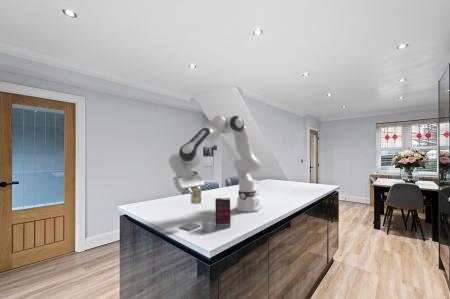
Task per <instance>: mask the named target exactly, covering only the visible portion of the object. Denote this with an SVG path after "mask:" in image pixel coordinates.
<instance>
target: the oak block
mask: <svg viewBox="0 0 450 299" xmlns="http://www.w3.org/2000/svg"><path fill="white" fill-rule="evenodd" d="M191 190H192V191H193V192H194V193H195V195H194V196H191V195H190V203H191V204H194V205H199V204H201V203H202V188H200V189H197V188H195V189H191Z"/></svg>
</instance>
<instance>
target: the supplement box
mask: <svg viewBox="0 0 450 299" xmlns="http://www.w3.org/2000/svg"><path fill="white" fill-rule="evenodd" d="M214 204H215V205H214V206H215V229H216V228H217V229H218V228H231V199H230V197H220V198H219V197H216V198H215V202H214Z"/></svg>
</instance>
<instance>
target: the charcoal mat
mask: <svg viewBox="0 0 450 299" xmlns="http://www.w3.org/2000/svg"><path fill="white" fill-rule="evenodd" d="M200 227H202V224H201V225H200V224H197V223H194V222H189V223H185V224H183V225H180V226H179V229H181V230H184V231H187V232H191V231H193V230H195V229H197V228H200Z"/></svg>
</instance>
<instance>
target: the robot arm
mask: <svg viewBox="0 0 450 299" xmlns="http://www.w3.org/2000/svg"><path fill="white" fill-rule="evenodd" d="M222 133H223V134H231V133H232V134H233V137H234V144H235V149H236V152H237V154H238V155H239V156H240V157H239V158H236V159H235V160H234V162H233V167H234V169H235V171H236V173H237V177H238V191H237V192H238V193H237V194H238V197H237V198H236V200H237V201H236V205H235V209H236V210H237V211H239V212H243V213H251V212H252V213H253V212H259V211H260V210H261V209H262V208H263V205H262V204H260V199H259V198H258V197H257V196H256V194H257V190H255V189H254V188H255V183H254V182H255V181H254V179H253V177H252V175H251V174H252V173H257V172H259V171H260V169H261V162H260V160H259V159H258V158H256V155H255V154H254V152H253V149H252V144H251V141H250V136H249V131H248V129H247V127H246V126H245V122H244V119H243V118H242V117H241V116H240V115H233V116H229V117H226V118H225V117H224V116H222V115H215V116H214V117H213V118H211V120H210V121H209V122H208V123H207V124H206V125H205V126H204V127H202V128H201V129H200V130H199V131H197V133H196V134H195V135H194V136H193V137H192V138H191V139H190V140H189V141H188V142H185V144H183V145H182V146H181V147H180V148H179V151H178V153H173V154H172V155H171V156H170V157H169V159H168V163H169V166H170V168H171V169H172V172H174V174H175V176H174V177H173V178H172V179H173V182H174V186H175V188H176V190H177V191H178V192H180V193H181V192H187V193H188V194H190V197H191V196H194V195H195V193H194V192H193V191H192V190H191V189H195V188H197V189H202V188H203V187H204V186H205V184H206V183H205V182H204V180H203V178H202V177H201V176H200V175H199V172H198V171H196V170H192V169H194V168H196V167H197V166H198V165H199V164H200V157H199V155H198V148H199V147H200V146H201V145H202V144H203V142H205V140H207V141H211V142H214V141H216V139H217V138H219V136H220V135H221V134H222Z"/></svg>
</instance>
